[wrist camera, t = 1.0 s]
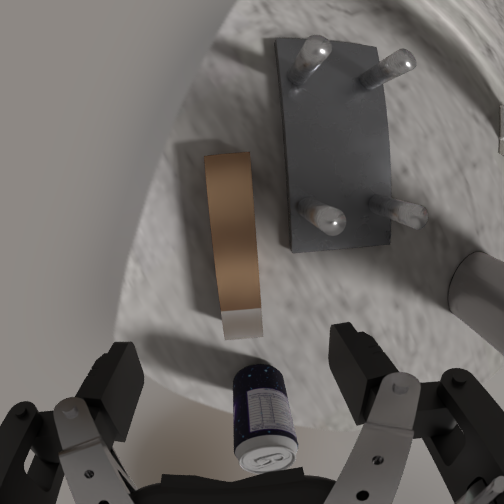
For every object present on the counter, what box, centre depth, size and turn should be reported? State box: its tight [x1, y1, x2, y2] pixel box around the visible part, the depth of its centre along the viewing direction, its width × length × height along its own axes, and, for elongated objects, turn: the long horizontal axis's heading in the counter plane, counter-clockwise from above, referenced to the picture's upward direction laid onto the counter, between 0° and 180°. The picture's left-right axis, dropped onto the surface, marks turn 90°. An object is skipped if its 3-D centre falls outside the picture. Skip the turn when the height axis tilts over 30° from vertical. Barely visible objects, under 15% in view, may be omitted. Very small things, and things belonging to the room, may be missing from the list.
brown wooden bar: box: [204, 152, 263, 340], centre depth 25 cm, size 16×4×4 cm, turn 4°
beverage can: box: [233, 364, 298, 474], centre depth 26 cm, size 6×6×12 cm
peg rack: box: [274, 35, 428, 253], centre depth 21 cm, size 10×20×8 cm, turn 4°
